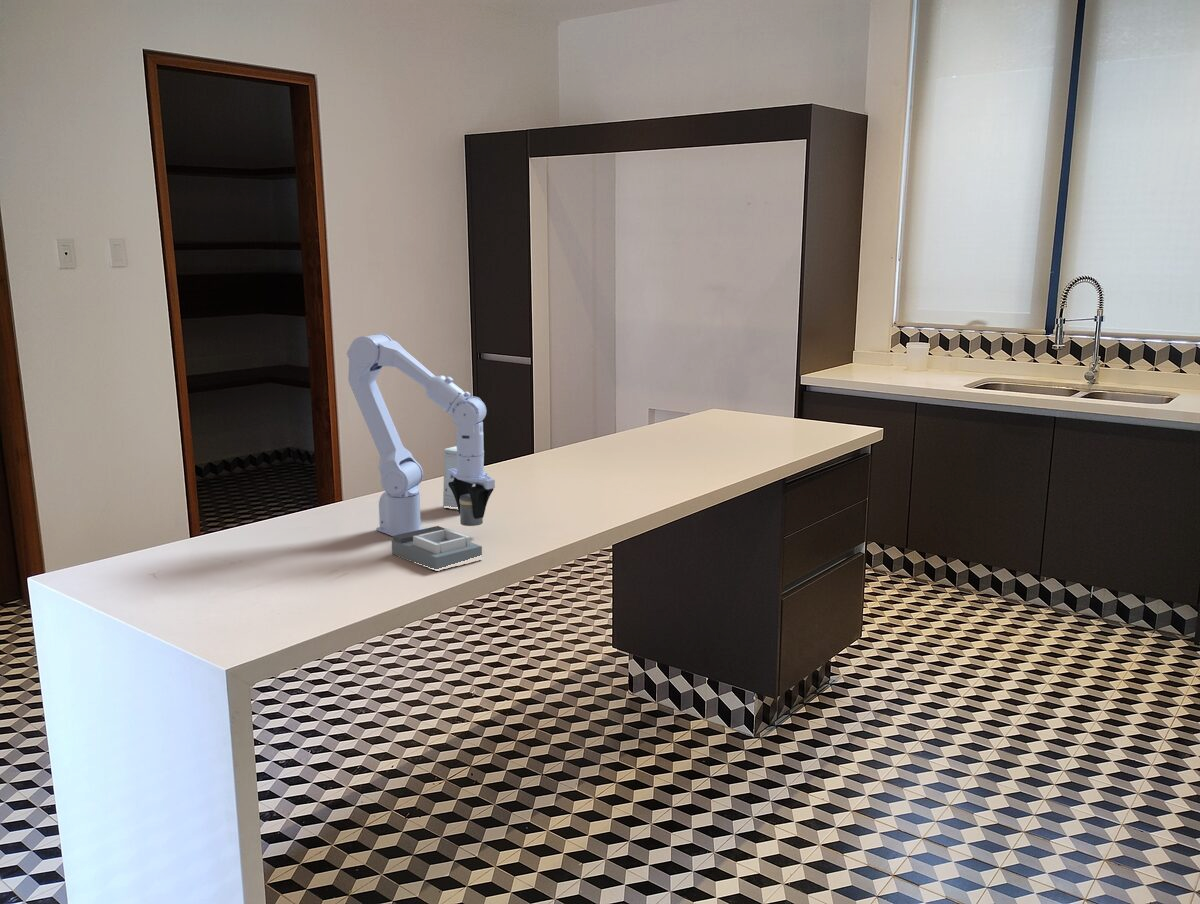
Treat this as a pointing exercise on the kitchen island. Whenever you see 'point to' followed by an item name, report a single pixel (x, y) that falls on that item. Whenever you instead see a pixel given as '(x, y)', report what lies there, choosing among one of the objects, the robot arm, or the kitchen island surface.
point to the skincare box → (449, 463)
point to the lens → (468, 512)
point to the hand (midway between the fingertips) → (471, 515)
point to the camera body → (435, 547)
